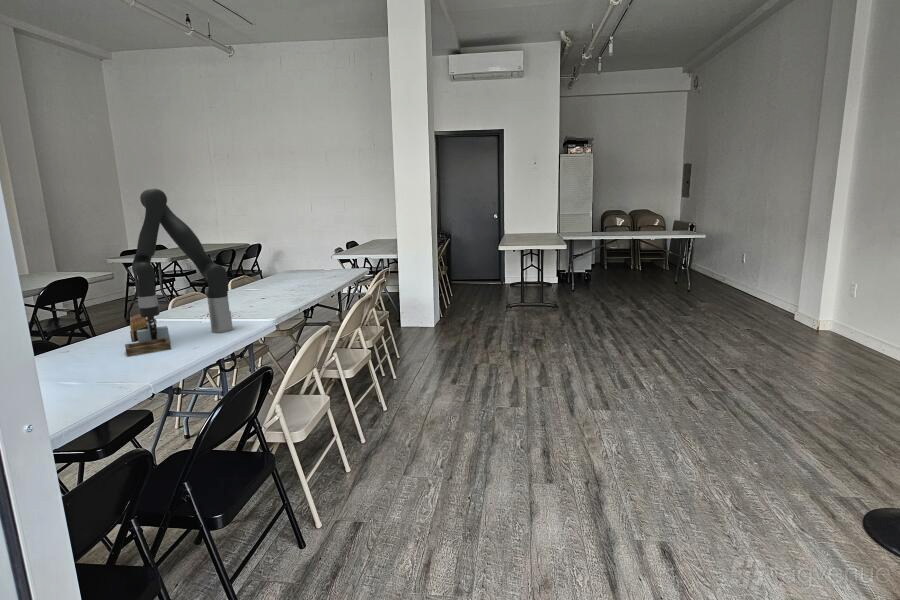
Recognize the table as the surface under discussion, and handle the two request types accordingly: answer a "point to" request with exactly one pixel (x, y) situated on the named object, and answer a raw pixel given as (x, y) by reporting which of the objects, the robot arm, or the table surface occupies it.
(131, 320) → the ammunition clip
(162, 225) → the robot arm
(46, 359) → the table surface
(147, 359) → the table surface
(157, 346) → the cradle jig
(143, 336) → the long grey rectangular block
